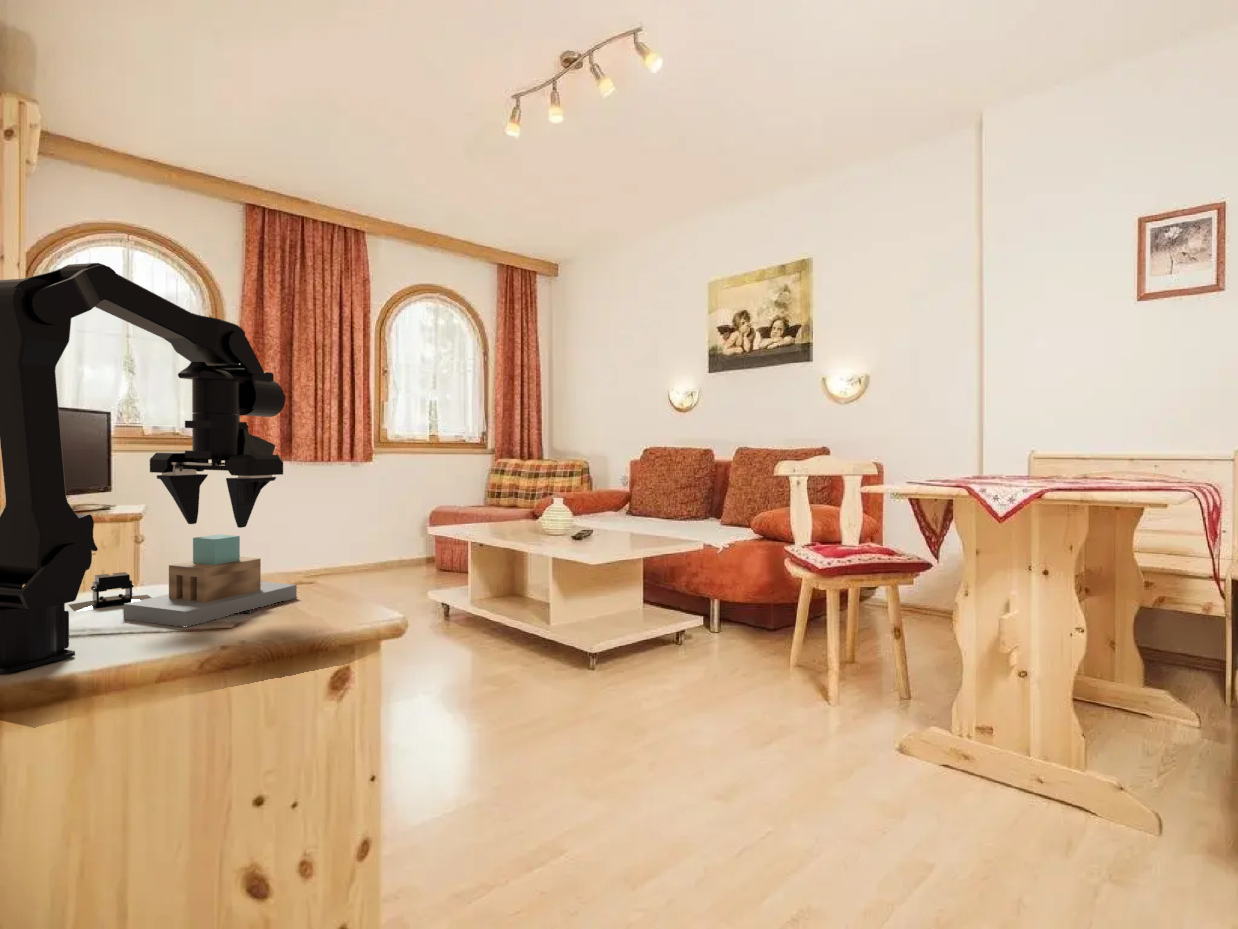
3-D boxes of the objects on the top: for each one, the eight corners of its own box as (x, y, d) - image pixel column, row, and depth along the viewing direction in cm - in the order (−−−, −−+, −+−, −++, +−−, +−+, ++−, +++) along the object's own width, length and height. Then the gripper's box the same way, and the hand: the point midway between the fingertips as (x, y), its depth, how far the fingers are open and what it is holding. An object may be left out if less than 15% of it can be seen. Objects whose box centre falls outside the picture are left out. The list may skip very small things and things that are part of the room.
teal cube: (214, 565, 93) (214, 539, 93) (192, 563, 94) (193, 537, 94) (239, 560, 97) (239, 536, 97) (218, 558, 98) (218, 534, 98)
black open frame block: (157, 596, 105) (157, 566, 105) (169, 604, 100) (169, 573, 100) (53, 609, 96) (53, 576, 96) (61, 618, 91) (61, 584, 91)
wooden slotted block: (204, 602, 90) (204, 568, 90) (168, 598, 92) (168, 565, 92) (260, 589, 99) (260, 558, 99) (226, 585, 101) (226, 555, 101)
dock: (185, 627, 85) (185, 611, 85) (123, 619, 89) (123, 603, 89) (296, 598, 102) (296, 584, 102) (240, 591, 106) (240, 579, 106)
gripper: (313, 416, 100) (312, 523, 100) (216, 416, 106) (217, 516, 106) (249, 413, 89) (249, 531, 89) (146, 413, 95) (147, 524, 95)
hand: (216, 525), depth 95 cm, fingers open, 9 cm apart
